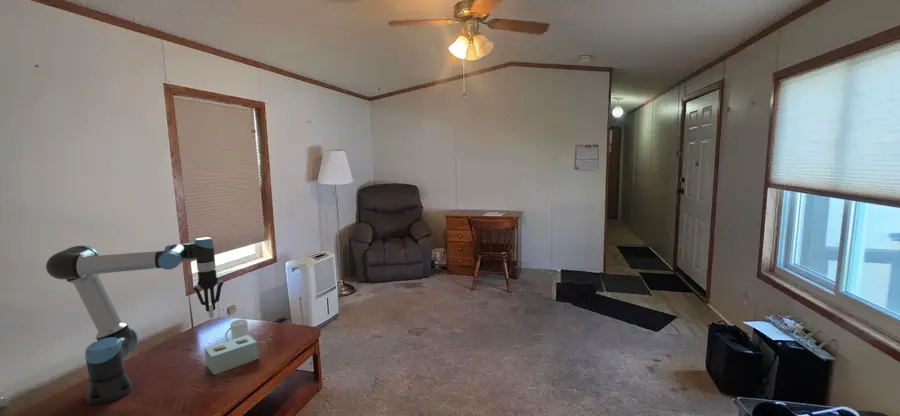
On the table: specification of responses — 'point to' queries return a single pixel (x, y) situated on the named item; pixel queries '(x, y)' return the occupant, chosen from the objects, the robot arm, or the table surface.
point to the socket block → (231, 354)
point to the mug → (238, 329)
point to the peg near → (219, 348)
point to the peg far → (241, 341)
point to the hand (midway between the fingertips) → (211, 316)
